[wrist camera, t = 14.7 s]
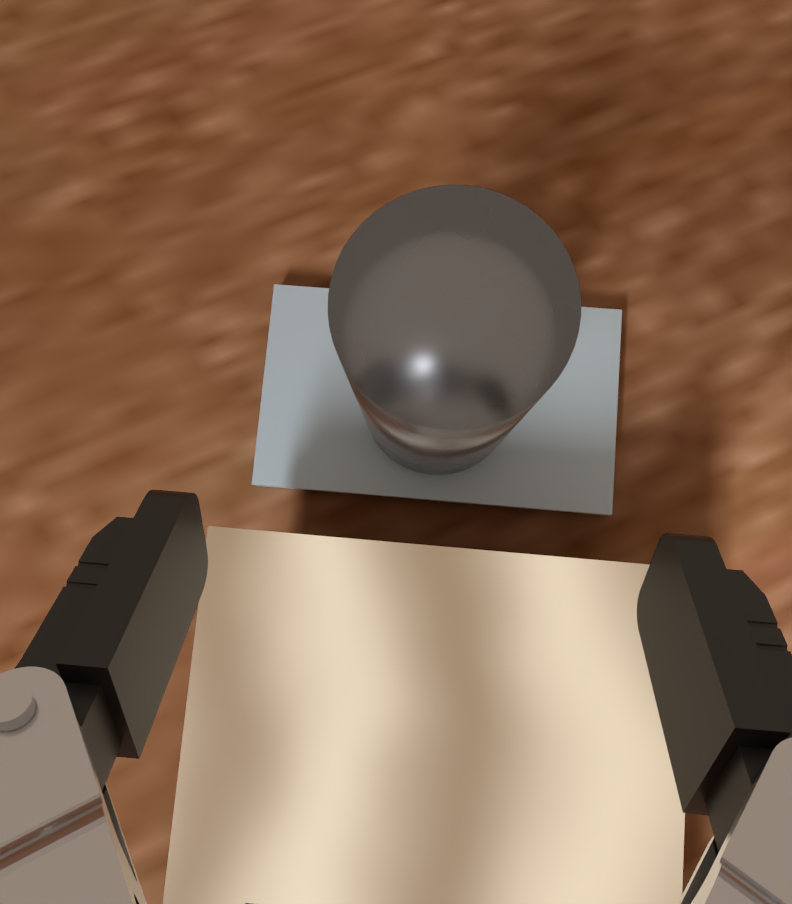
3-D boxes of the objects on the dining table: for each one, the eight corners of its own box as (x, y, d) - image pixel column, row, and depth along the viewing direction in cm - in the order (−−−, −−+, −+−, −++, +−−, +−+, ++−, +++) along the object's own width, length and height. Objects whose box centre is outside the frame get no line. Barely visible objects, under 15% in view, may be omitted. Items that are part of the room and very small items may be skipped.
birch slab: (185, 1111, 22) (117, 1279, 17) (250, 529, 24) (208, 525, 19) (608, 1163, 21) (667, 1351, 16) (635, 562, 24) (693, 568, 19)
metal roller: (356, 467, 24) (314, 418, 14) (371, 323, 24) (341, 175, 14) (505, 481, 23) (572, 441, 14) (517, 336, 24) (588, 194, 14)
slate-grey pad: (255, 485, 24) (251, 484, 24) (277, 290, 25) (274, 284, 25) (607, 515, 24) (612, 514, 23) (617, 315, 25) (622, 309, 24)
